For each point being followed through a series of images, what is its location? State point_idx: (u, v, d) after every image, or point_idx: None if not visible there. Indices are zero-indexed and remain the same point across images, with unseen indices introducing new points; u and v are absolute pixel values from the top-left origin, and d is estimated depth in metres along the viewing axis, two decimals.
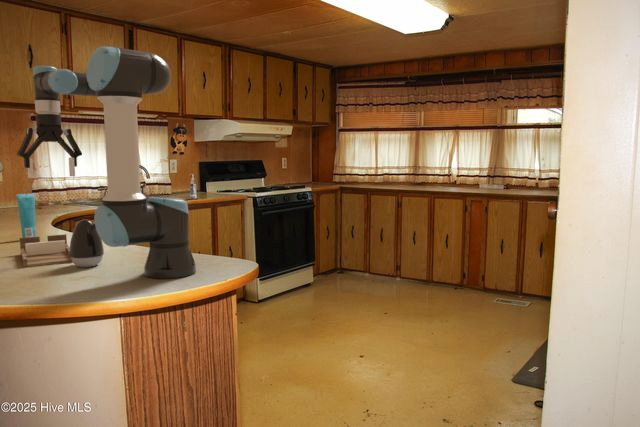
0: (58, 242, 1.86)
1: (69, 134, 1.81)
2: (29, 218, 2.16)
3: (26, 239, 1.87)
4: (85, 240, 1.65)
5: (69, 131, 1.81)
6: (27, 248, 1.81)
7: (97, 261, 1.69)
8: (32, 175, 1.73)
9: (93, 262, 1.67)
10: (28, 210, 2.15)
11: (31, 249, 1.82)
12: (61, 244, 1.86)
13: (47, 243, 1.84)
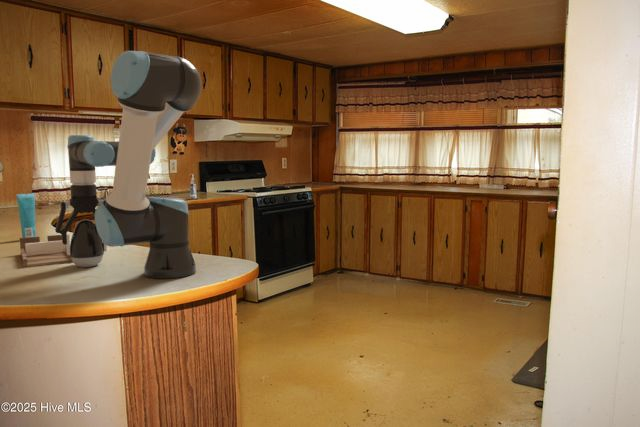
0: (58, 242, 1.86)
1: (104, 205, 1.70)
2: (29, 218, 2.16)
3: (26, 239, 1.87)
4: (85, 240, 1.65)
5: (105, 202, 1.70)
6: (27, 248, 1.81)
7: (97, 261, 1.69)
8: (69, 252, 1.66)
9: (93, 262, 1.67)
10: (28, 210, 2.15)
11: (31, 249, 1.82)
12: (61, 244, 1.86)
13: (47, 243, 1.84)
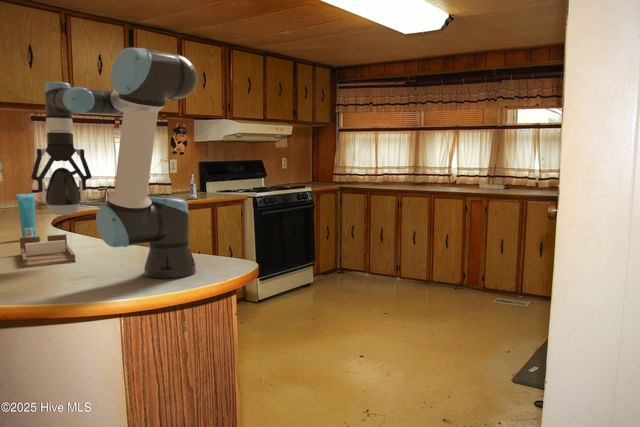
0: (58, 242, 1.86)
1: (81, 154, 1.71)
2: (29, 218, 2.16)
3: (26, 239, 1.87)
4: (61, 188, 1.66)
5: (82, 151, 1.71)
6: (27, 248, 1.81)
7: (73, 209, 1.70)
8: (44, 199, 1.67)
9: (69, 210, 1.68)
10: (28, 210, 2.15)
11: (31, 249, 1.82)
12: (61, 244, 1.86)
13: (47, 243, 1.84)
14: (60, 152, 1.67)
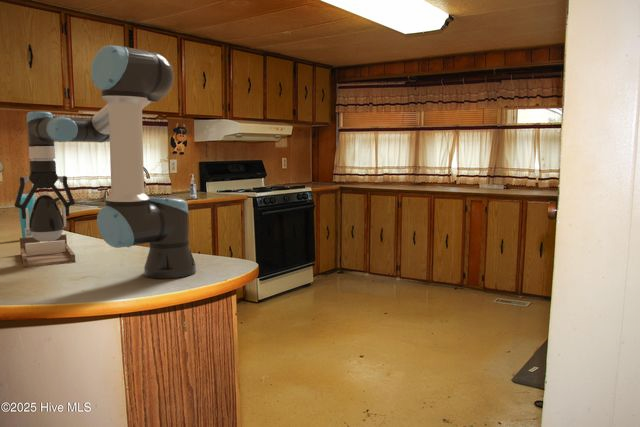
0: (58, 242, 1.86)
1: (64, 181, 1.74)
2: (29, 218, 2.16)
3: (26, 239, 1.87)
4: (44, 215, 1.69)
5: (64, 178, 1.74)
6: (27, 248, 1.81)
7: (56, 235, 1.72)
8: (28, 226, 1.70)
9: (52, 237, 1.71)
10: (28, 210, 2.15)
11: (31, 249, 1.82)
12: (61, 244, 1.86)
13: (47, 243, 1.84)
14: (43, 180, 1.71)
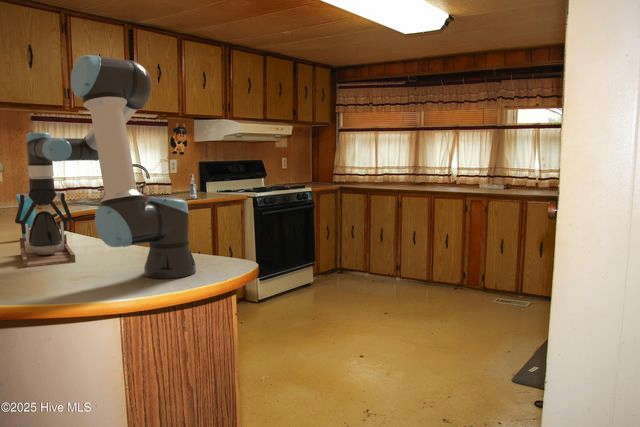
0: None
1: (62, 198, 1.83)
2: (29, 218, 2.16)
3: None
4: (43, 230, 1.78)
5: (62, 195, 1.83)
6: (26, 246, 1.84)
7: (55, 249, 1.81)
8: (27, 241, 1.79)
9: (50, 251, 1.80)
10: None
11: (30, 247, 1.85)
12: None
13: None
14: (42, 197, 1.80)
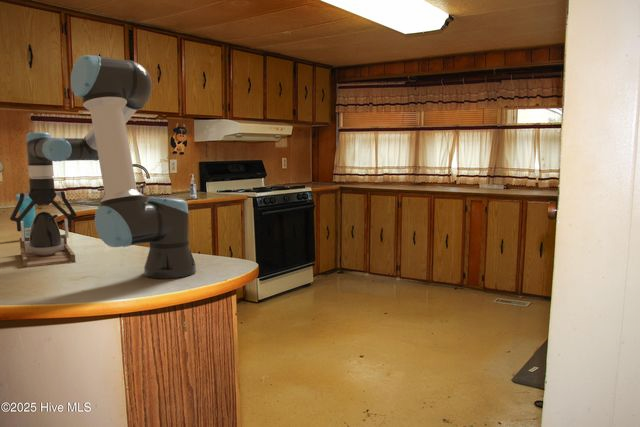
0: None
1: (62, 196, 1.83)
2: (29, 218, 2.16)
3: (26, 239, 1.87)
4: (43, 231, 1.78)
5: (62, 193, 1.83)
6: (26, 246, 1.84)
7: (55, 250, 1.82)
8: (23, 238, 1.78)
9: (51, 252, 1.81)
10: None
11: None
12: None
13: None
14: (42, 197, 1.80)
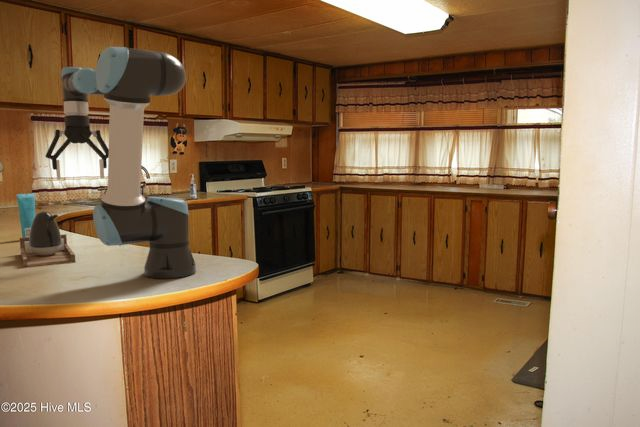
0: None
1: (98, 135, 1.78)
2: (29, 218, 2.16)
3: (26, 239, 1.87)
4: (43, 231, 1.78)
5: (98, 132, 1.78)
6: (26, 246, 1.84)
7: (55, 250, 1.82)
8: (59, 177, 1.73)
9: (51, 252, 1.81)
10: (28, 210, 2.15)
11: None
12: None
13: None
14: (77, 135, 1.75)
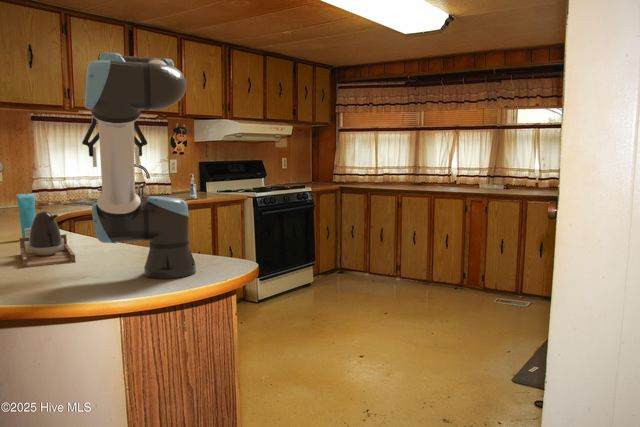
0: None
1: (134, 123, 1.76)
2: (29, 218, 2.16)
3: (26, 239, 1.87)
4: (43, 231, 1.78)
5: None
6: (26, 246, 1.84)
7: (55, 250, 1.82)
8: (95, 164, 1.71)
9: (51, 252, 1.81)
10: (28, 210, 2.15)
11: None
12: None
13: None
14: None
